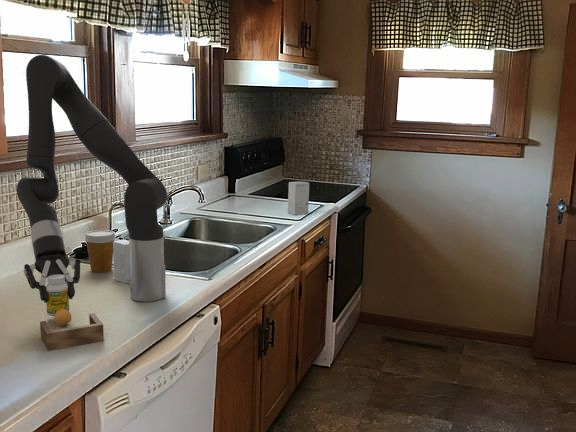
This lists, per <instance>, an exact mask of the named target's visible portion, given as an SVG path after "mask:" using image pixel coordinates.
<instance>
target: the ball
mask: <svg viewBox="0 0 576 432" xmlns="http://www.w3.org/2000/svg"><path fill="white" fill-rule="evenodd" d="M53 320H54V322H55V323H56V324H57V325H58V326H61V327H62V326H66V325H69V323H70V322H71V321H72V313H71V311H70V310H69V311H68V310H66V309H61V310H58V311H57V312H56V313H55V316H53Z"/></svg>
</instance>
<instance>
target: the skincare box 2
mask: <svg viewBox="0 0 576 432" xmlns="http://www.w3.org/2000/svg"><path fill="white" fill-rule="evenodd" d="M287 194H288V195H287V197H288V198H287V213H288V214H289V215H292V216H301V215H306V214H307V215H308V214H309V205H310V204H309V202H310V200H309V199H310V182H307V181H289V182H288V193H287Z"/></svg>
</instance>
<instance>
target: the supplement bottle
mask: <svg viewBox="0 0 576 432" xmlns="http://www.w3.org/2000/svg"><path fill="white" fill-rule="evenodd" d="M47 282H48V284H46V285H45V286H46V291H47V296H48V301H47V302H46V303H45V304H46V306H45V307H46V314H47V315H48V316H51V317H54V316H55V313H56V312H57V311H58V310H61V309H66V310H68V311H69V312H70V301H69V300H70V299H69V294H68V285H67V284H66V283H65V276H64V275H61V274H56V275H51V276H48V278H47Z"/></svg>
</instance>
